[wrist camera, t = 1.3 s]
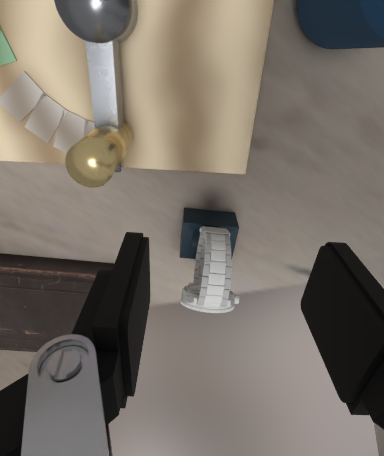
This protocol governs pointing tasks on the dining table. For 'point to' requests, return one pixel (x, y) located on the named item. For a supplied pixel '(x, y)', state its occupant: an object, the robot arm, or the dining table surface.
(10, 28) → the dial board
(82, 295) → the hardcover book
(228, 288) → the watch
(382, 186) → the dining table surface
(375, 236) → the dining table surface
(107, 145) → the lever
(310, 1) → the soda can
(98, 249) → the dining table surface
